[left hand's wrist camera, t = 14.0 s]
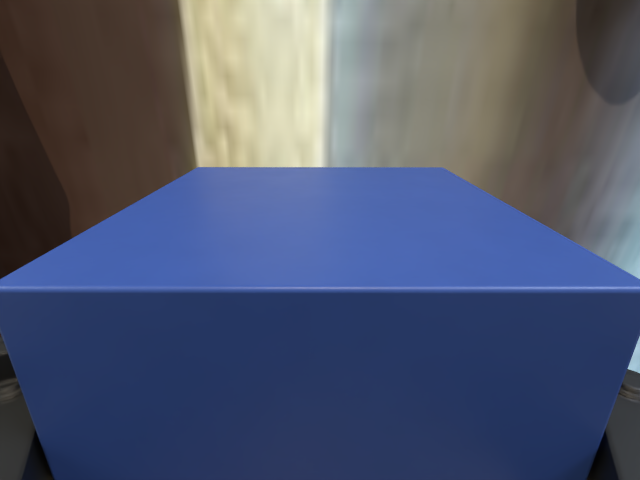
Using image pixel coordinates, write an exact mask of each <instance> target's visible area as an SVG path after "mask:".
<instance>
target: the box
mask: <svg viewBox="0 0 640 480" xmlns="http://www.w3.org/2000/svg"><path fill="white" fill-rule="evenodd" d="M0 333H1V336H2V338H3V341H4V344H5V347H6V349H7V352H8V355H9V358H10V360H11V363H12V366H13V369H14V371H15V374H16V377H17V380H18V382H19V385H20V388H21V391H22V393H23V396H24V399H25V402H26V404H27V407H28V410H29V413H30V415H31V418H32V421H33V424H34V426H35V429H36V432H37V435H38V437H39V440H40V443H41V446H42V448H43V451H44V454H45V457H46V459H47V462H48V465H49V468H50V470H51V473H52V476H53V479H54V480H587V478H588V475H589V472H590V469H591V467H592V464H593V461H594V458H595V456H596V453H597V450H598V448H599V445H600V442H601V439H602V437H603V434H604V431H605V428H606V426H607V423H608V420H609V417H610V415H611V412H612V409H613V407H614V404H615V401H616V398H617V396H618V393H619V390H620V387H621V385H622V382H623V379H624V377H625V374H626V371H627V368H628V366H629V363H630V360H631V357H632V355H633V352H634V349H635V347H636V344H637V341H638V338H639V336H640V279H638V278H636V277H635V276H633V275H631V274H629V273H628V272H626V271H624V270H622V269H621V268H619V267H617V266H615V265H614V264H612V263H610V262H608V261H607V260H605V259H603V258H601V257H599V256H598V255H596V254H594V253H592V252H591V251H589V250H587V249H585V248H584V247H582V246H580V245H578V244H577V243H575V242H573V241H571V240H569V239H568V238H566V237H564V236H562V235H561V234H559V233H557V232H555V231H554V230H552V229H550V228H548V227H547V226H545V225H543V224H541V223H540V222H538V221H536V220H534V219H532V218H531V217H529V216H527V215H525V214H524V213H522V212H520V211H518V210H517V209H515V208H513V207H511V206H510V205H508V204H506V203H504V202H503V201H501V200H499V199H497V198H495V197H494V196H492V195H490V194H488V193H487V192H485V191H483V190H481V189H480V188H478V187H476V186H474V185H473V184H471V183H469V182H467V181H465V180H464V179H462V178H460V177H458V176H457V175H455V174H453V173H451V172H450V171H448V170H446V169H444V168H327V167H198V168H196V169H194V170H192V171H190V172H189V173H187V174H185V175H183V176H182V177H180V178H178V179H176V180H175V181H173V182H171V183H169V184H168V185H166V186H164V187H162V188H160V189H159V190H157V191H155V192H153V193H152V194H150V195H148V196H146V197H145V198H143V199H141V200H139V201H137V202H136V203H134V204H132V205H130V206H129V207H127V208H125V209H123V210H122V211H120V212H118V213H116V214H115V215H113V216H111V217H109V218H107V219H106V220H104V221H102V222H100V223H99V224H97V225H95V226H93V227H92V228H90V229H88V230H86V231H85V232H83V233H81V234H79V235H77V236H76V237H74V238H72V239H70V240H69V241H67V242H65V243H63V244H62V245H60V246H58V247H56V248H55V249H53V250H51V251H49V252H47V253H46V254H44V255H42V256H40V257H39V258H37V259H35V260H33V261H32V262H30V263H28V264H26V265H25V266H23V267H21V268H19V269H17V270H16V271H14V272H12V273H10V274H9V275H7V276H5V277H3V278H2V279H0Z"/></svg>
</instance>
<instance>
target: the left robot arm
mask: <svg viewBox="0 0 640 480" xmlns="http://www.w3.org/2000/svg"><path fill="white" fill-rule="evenodd" d="M0 480H54V479H53V476H52V473H51V470H50V468H49V465H48V462H47V459H46V457H45V454H44V451H43V448H42V446H41V443H40V440H39V437H38V435H37V432H36V429H35V426H34V424H33V421H32V418H31V415H30V413H29V410H28V407H27V404H26V402H25V399H24V396H23V393H22V391H21V388H20V385H19V382H18V380H17V377H16V374H15V371H14V369H13V366H12V363H11V360H10V358H9V355H8V352H7V349H6V347H5V344H4V341H3V338H2V337H0ZM587 480H640V374H639V373H637V372H634V371H631V370H628V369H627V371H626V374H625V377H624V379H623V382H622V385H621V387H620V390H619V393H618V396H617V398H616V401H615V404H614V407H613V409H612V412H611V415H610V417H609V420H608V423H607V426H606V428H605V431H604V434H603V437H602V439H601V442H600V445H599V448H598V450H597V453H596V456H595V458H594V461H593V464H592V467H591V469H590V472H589V475H588V478H587Z"/></svg>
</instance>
